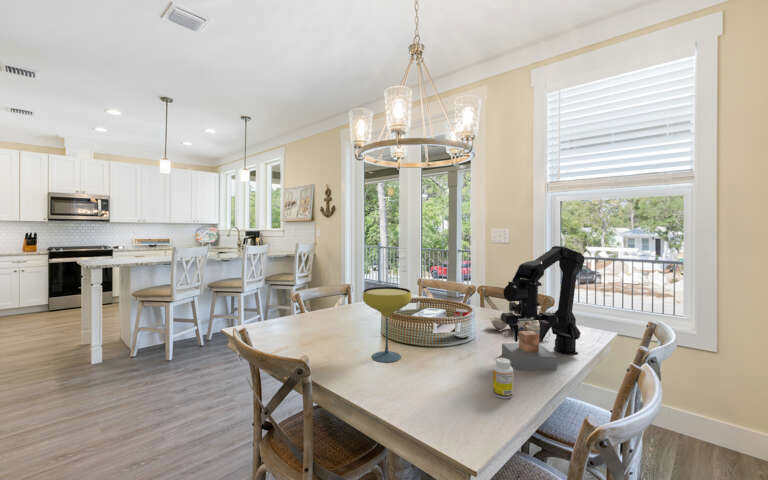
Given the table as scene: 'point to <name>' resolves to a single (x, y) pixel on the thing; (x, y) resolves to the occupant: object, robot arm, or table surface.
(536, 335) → the terracotta cube
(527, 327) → the chinaware
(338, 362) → the table surface
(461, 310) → the soda can
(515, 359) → the gray block
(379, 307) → the cocktail glass
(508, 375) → the supplement bottle
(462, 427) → the table surface
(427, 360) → the table surface
